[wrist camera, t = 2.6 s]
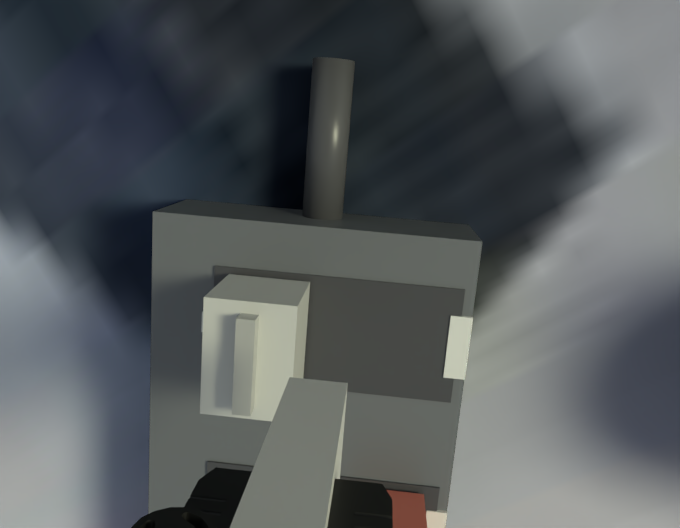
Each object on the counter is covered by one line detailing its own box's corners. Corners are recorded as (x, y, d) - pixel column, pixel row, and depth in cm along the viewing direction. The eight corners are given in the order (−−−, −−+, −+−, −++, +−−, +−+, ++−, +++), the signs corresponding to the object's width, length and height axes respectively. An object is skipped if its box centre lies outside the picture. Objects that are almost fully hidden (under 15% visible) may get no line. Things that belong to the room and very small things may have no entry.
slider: (229, 274, 23) (198, 302, 19) (310, 281, 23) (294, 311, 19) (224, 376, 24) (194, 422, 20) (302, 384, 24) (286, 432, 20)
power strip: (187, 52, 25) (149, 38, 21) (487, 75, 25) (506, 65, 21) (171, 664, 32) (140, 742, 28) (408, 696, 31) (411, 781, 27)
